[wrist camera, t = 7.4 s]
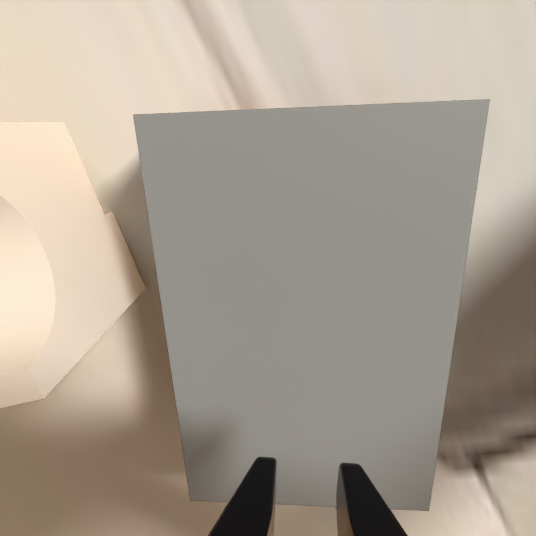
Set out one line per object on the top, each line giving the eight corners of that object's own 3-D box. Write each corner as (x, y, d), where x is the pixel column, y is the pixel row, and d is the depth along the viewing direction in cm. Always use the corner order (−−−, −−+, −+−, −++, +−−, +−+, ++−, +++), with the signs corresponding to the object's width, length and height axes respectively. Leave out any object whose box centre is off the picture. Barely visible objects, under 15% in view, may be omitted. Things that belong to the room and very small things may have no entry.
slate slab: (452, 103, 12) (489, 99, 10) (410, 456, 17) (428, 510, 14) (163, 115, 13) (133, 114, 10) (204, 450, 18) (190, 500, 15)
